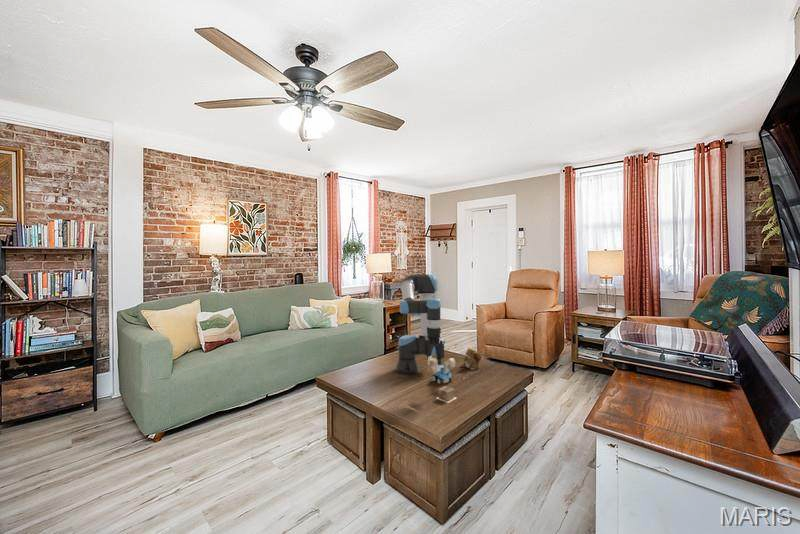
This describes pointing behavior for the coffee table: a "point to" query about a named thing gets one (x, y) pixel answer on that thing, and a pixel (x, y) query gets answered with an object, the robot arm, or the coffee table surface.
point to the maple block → (432, 365)
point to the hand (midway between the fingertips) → (434, 369)
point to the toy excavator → (444, 372)
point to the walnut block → (446, 393)
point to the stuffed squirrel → (471, 359)
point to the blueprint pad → (446, 401)
